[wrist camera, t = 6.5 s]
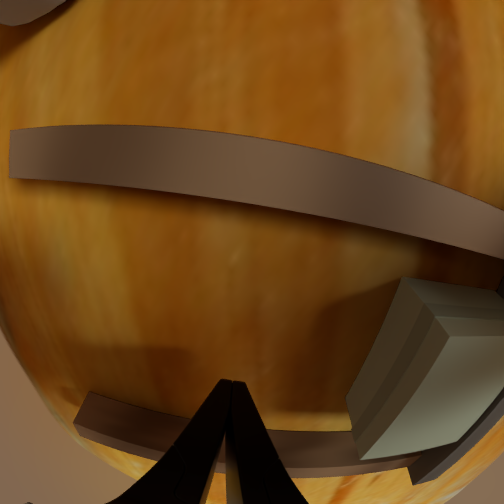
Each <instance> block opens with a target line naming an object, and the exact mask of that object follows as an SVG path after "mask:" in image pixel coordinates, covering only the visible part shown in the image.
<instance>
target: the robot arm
mask: <svg viewBox="0 0 504 504" xmlns="http://www.w3.org/2000/svg"><path fill="white" fill-rule="evenodd" d="M224 436H225V468H226V498H227V504H309V503H308V502H307V501H306V499H305V498H304V497H303V495H302V494H301V493H300V491H299V490H298V488H297V487H296V485H295V484H294V482H293V481H292V479H291V478H290V476H289V474H288V472H287V471H286V469H285V467H284V465H283V463H282V461H281V459H279V455H278V453H277V451H276V449H275V447H274V445H273V443H272V440H271V438H270V436H269V434H268V432H267V430H266V428H265V426H264V423H263V421H262V419H261V417H260V415H259V413H258V410H257V408H256V406H255V404H254V401H253V399H252V397H251V395H250V392H249V390H248V388H247V386H246V384H245V382H241V381H233V383H232V380H227V379H220V380H219V382H218V383H217V384H216V386H215V387H214V389H213V390H212V391H211V393H210V394H209V396H208V397H207V398H206V400H205V401H204V402H203V404H202V405H201V407H200V408H199V409H198V411H197V412H196V413H195V415H194V416H193V417H192V419H191V420H190V421H189V423H188V424H187V425H186V427H185V428H184V429H183V431H182V432H181V433H180V435H179V436H178V437H177V439H176V440H175V441H174V443H173V445H171V446H170V448H169V449H168V450H167V451H166V453H165V454H164V455H163V456H162V457H161V459H160V460H159V461H158V462H157V463H156V464H155V465H154V466H153V467H152V468H151V469H150V470H149V471H148V472H147V473H146V474H145V475H144V476H142V477H141V478H140V479H139V480H138V481H137V482H136V483H135V484H133V485H132V486H131V487H130V488H129V489H128V490H126V491H125V492H124V493H123V494H122V495H120V496H119V497H117V498H116V499H114V500H112V501H110V502H108V503H106V504H205V503H206V500H207V496H208V493H209V490H210V486H211V483H212V479H213V476H214V472H215V469H216V465H217V462H218V458H219V455H220V451H221V447H222V444H223V440H224ZM25 504H32V503H30V502H27V503H25Z"/></svg>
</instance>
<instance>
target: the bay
mask: <svg viewBox="0 0 504 504" xmlns="http://www.w3.org/2000/svg"><path fill="white" fill-rule="evenodd" d="M9 178H25V179H42V180H57V181H70V182H82V183H93V184H104V185H114V186H123V187H133V188H141V189H150V190H158V191H166V192H174V193H182V194H189V195H197V196H204V197H211V198H217V199H224V200H231V201H237V202H244V203H250V204H256V205H262V206H268V207H274V208H280V209H285V210H291V211H296V212H302V213H307V214H313V215H318V216H323V217H328V218H333V219H338V220H343V221H348V222H353V223H358V224H363V225H367V226H372V227H377V228H381V229H386V230H390V231H395V232H399V233H403V234H408V235H412V236H416V237H420V238H425V239H429V240H433V241H437V242H441V243H445V244H449V245H453V246H456V247H460V248H464V249H468V250H472V251H475V252H479V253H483V254H486V255H490V256H493V257H497V258H500V259H504V211H503V210H501V209H499V208H497V207H495V206H492V205H490V204H488V203H486V202H483V201H481V200H479V199H476V198H474V197H471V196H469V195H466V194H464V193H461V192H459V191H456V190H454V189H451V188H448V187H446V186H443V185H440V184H438V183H435V182H432V181H429V180H426V179H423V178H420V177H417V176H414V175H411V174H408V173H405V172H402V171H399V170H396V169H392V168H389V167H386V166H382V165H379V164H375V163H372V162H368V161H365V160H361V159H357V158H353V157H349V156H345V155H341V154H337V153H333V152H329V151H325V150H320V149H316V148H311V147H306V146H301V145H297V144H291V143H286V142H281V141H275V140H270V139H264V138H258V137H251V136H245V135H238V134H231V133H223V132H215V131H206V130H196V129H186V128H174V127H159V126H140V125H64V126H48V127H37V128H27V129H18V130H10V150H9ZM497 294H498V295H499V296H501V297H502V298H503V299H504V277H503V279H502V282H501V284H500V286H499V288H498V291H497ZM503 415H504V388H503V389H502V390H501V391H500V393H499V394H498V395H497V397H496V398H495V399H494V400H493V402H492V403H491V404H490V405H489V407H488V408H487V409H486V410H485V411H484V413H483V414H482V415H481V416H480V417H479V418H478V420H477V421H476V422H475V423H474V424H473V425H472V426H471V427H470V428H469V429H468V430H467V432H466V433H465V434H464V435H463V436H462V437H461V438H460V439H459V440H458V441H456V442H453V443H449V444H446V445H442V446H438V447H434V448H430V449H425V450H421V451H416V452H411V453H406V454H400V455H394V456H388V457H381V458H373V459H365V460H360V459H359V454H358V450H357V445H356V443H354V439H353V435H352V431H347V432H298V431H278V430H267V432H268V434H269V436H270V438H271V440H272V443H273V445H274V447H275V449H276V451H277V453H278V455H279V459H281V461H282V463H283V465H284V467H285V469H286V471H287V472H288V474H289V476H290V478H320V477H337V476H349V475H359V474H367V473H374V472H381V471H387V470H393V469H398V468H403V467H407V468H408V471H409V475H410V478H411V481H412V485H417V484H420V483H424V482H428V481H431V480H434V479H436V478H438V477H439V476H440V475H441V474H443V473H444V472H445V471H446V470H447V469H449V468H450V467H451V466H452V465H453V464H455V463H456V462H457V461H458V460H459V459H460V458H461V457H463V456H464V455H465V454H466V453H467V452H468V451H469V450H470V449H471V448H472V447H473V446H474V445H475V444H476V443H478V442H479V441H480V440H481V439H482V438H483V437H484V436H485V434H486V433H487V432H488V431H489V430H490V429H491V428H492V427H493V426H494V425H495V424H496V423H497V422H498V421H499V419H500V418H501V417H502V416H503ZM190 420H191V419H186V418H181V417H177V416H172V415H168V414H163V413H159V412H155V411H151V410H147V409H143V408H140V407H136V406H132V405H129V404H125V403H122V402H119V401H116V400H112V399H109V398H106V397H103V396H100V395H97V394H94V393H92V392H89V393H88V395H87V396H86V398H85V400H84V402H83V404H82V406H81V408H80V410H79V412H78V413H77V415H76V417H75V419H74V421H73V424H74V426H75V427H76V429H77V431H78V433H79V435H80V436H82V437H84V438H87V439H89V440H92V441H95V442H97V443H100V444H103V445H106V446H108V447H111V448H114V449H117V450H120V451H123V452H127V453H130V454H133V455H137V456H140V457H144V458H147V459H151V460H155V461H159V460H160V459H161V457H162V456H163V455H164V454H165V453H166V451H167V450H168V449H169V448H170V446H171V445H173V443H174V441H175V440H176V439H177V437H178V436H179V435H180V433H181V432H182V431H183V429H184V428H185V427H186V425H187V424H188V423H189V421H190ZM215 472H216V473H224V474H226V468H225V436H224V440H223V444H222V447H221V451H220V455H219V458H218V462H217V465H216V469H215Z"/></svg>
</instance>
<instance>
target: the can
mask: <svg viewBox="0 0 504 504" xmlns="http://www.w3.org/2000/svg"><path fill="white" fill-rule="evenodd" d="M65 1H66V0H0V24H5V25H9V26H16V25H21V24H26V23H29V22H31V21H33V20H35V19H37V18H39V17H41V16H43V15H45V14H47V13H49V12H50V11H51V10H53V9H54V8H55V7H57V6H58V5H60V4H62V3H64V2H65Z"/></svg>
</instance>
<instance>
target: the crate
mask: <svg viewBox="0 0 504 504" xmlns="http://www.w3.org/2000/svg"><path fill="white" fill-rule="evenodd" d="M503 388H504V299H503V298H502V297H501V296H499V295H498V294H497V293H496V292H495V291H494V290H489V289H482V288H476V287H469V286H462V285H456V284H449V283H442V282H436V281H429V280H422V279H416V278H409V277H402V278H401V281H400V283H399V286H398V288H397V291H396V294H395V296H394V298H393V301H392V303H391V306H390V308H389V311H388V313H387V315H386V318H385V320H384V322H383V324H382V327H381V329H380V331H379V333H378V335H377V337H376V340H375V342H374V344H373V346H372V348H371V350H370V352H369V354H368V356H367V358H366V360H365V362H364V364H363V366H362V368H361V370H360V372H359V374H358V376H357V377H356V379H355V381H354V383H353V385H352V387H351V388H350V390H349V392H348V394H347V395H346V397H345V400H346V404H347V408H348V412H349V416H350V420H351V424H352V429H351V430H352V435H353V439H354V443H356V445H357V450H358V454H359V459H360V460H365V459H373V458H381V457H388V456H394V455H400V454H406V453H411V452H416V451H421V450H425V449H430V448H434V447H438V446H442V445H446V444H449V443H453V442H456V441H458V440H459V439H460V438H461V437H462V436H463V435H464V434H465V433H466V432H467V430H468V429H469V428H470V427H471V426H472V425H473V424H474V423H475V422H476V421H477V420H478V418H479V417H480V416H481V415H482V414H483V413H484V411H485V410H486V409H487V408H488V407H489V405H490V404H491V403H492V402H493V400H494V399H495V398H496V397H497V395H498V394H499V393H500V391H501V390H502V389H503Z"/></svg>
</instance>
